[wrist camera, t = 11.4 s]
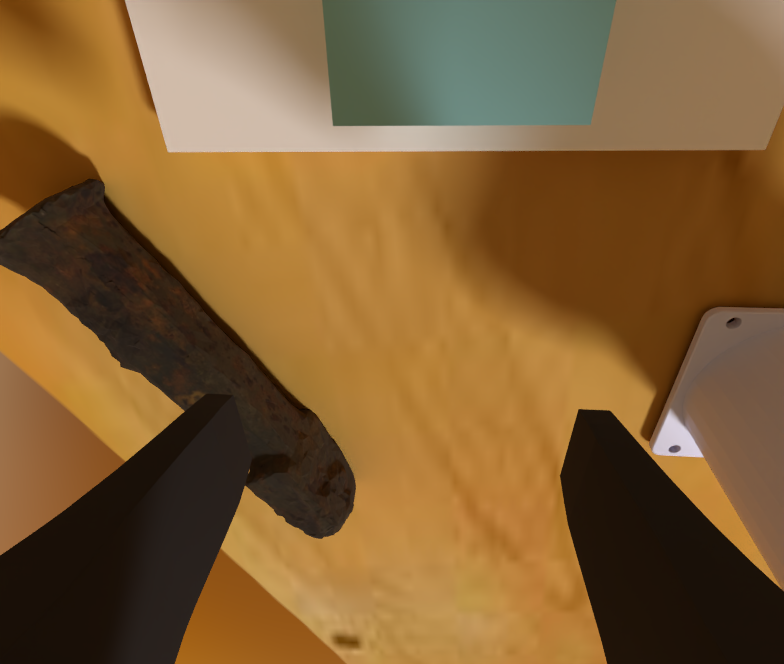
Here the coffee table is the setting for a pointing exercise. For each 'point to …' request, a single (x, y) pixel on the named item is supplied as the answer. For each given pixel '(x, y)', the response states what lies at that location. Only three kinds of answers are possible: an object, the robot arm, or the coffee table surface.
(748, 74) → the board
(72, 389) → the coffee table surface
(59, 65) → the coffee table surface
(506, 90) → the block
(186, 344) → the hand tool
